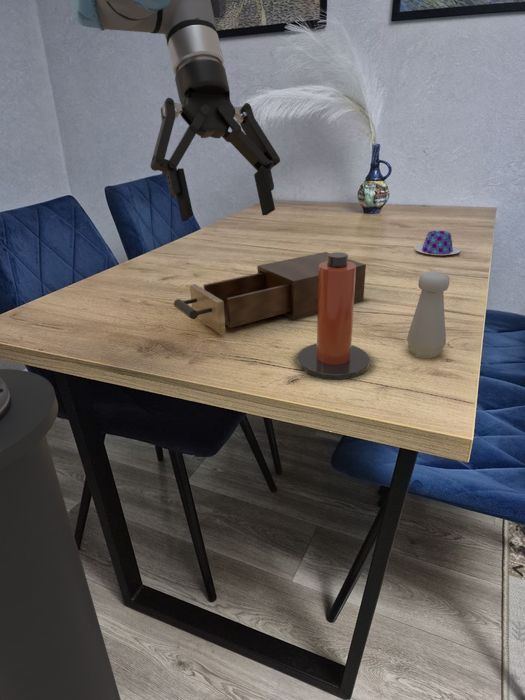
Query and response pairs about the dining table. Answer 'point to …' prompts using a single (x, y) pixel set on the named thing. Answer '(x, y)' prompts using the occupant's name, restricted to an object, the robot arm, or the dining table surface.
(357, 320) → the dining table surface
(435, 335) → the salt shaker
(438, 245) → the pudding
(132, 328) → the dining table surface
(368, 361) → the coaster
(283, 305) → the drawer
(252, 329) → the dining table surface
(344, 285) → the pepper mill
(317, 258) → the cabinet
